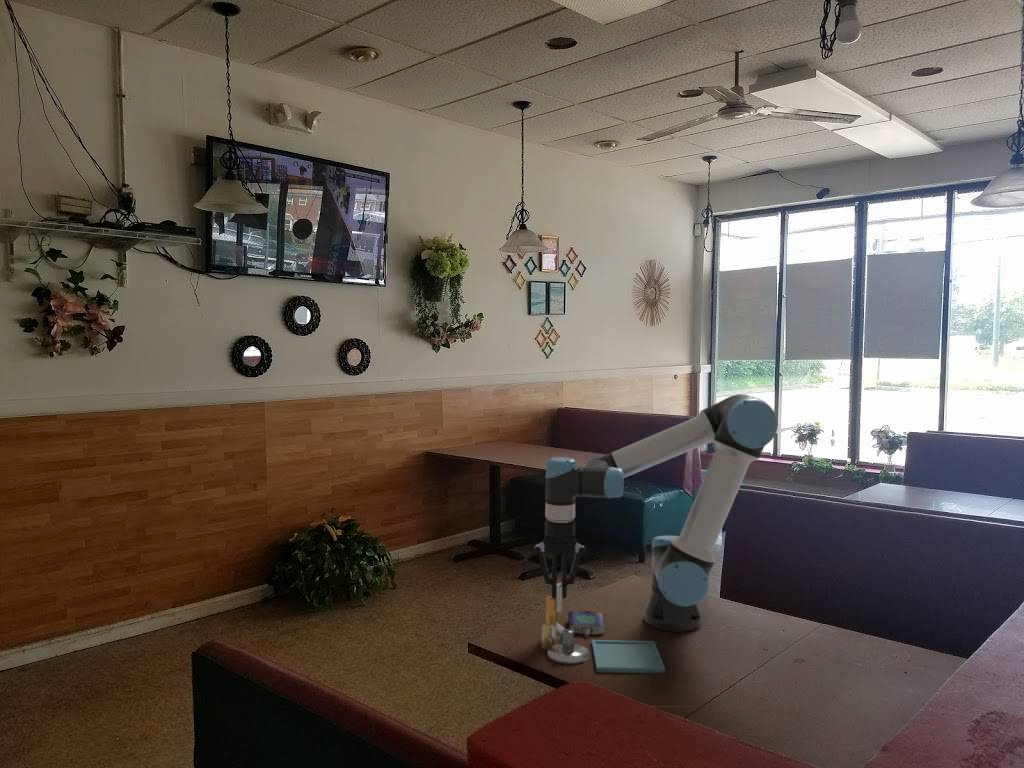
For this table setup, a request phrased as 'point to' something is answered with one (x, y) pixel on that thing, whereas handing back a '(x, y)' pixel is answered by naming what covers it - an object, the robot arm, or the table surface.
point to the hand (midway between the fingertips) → (558, 610)
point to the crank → (553, 619)
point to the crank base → (563, 647)
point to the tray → (627, 656)
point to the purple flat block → (586, 622)
